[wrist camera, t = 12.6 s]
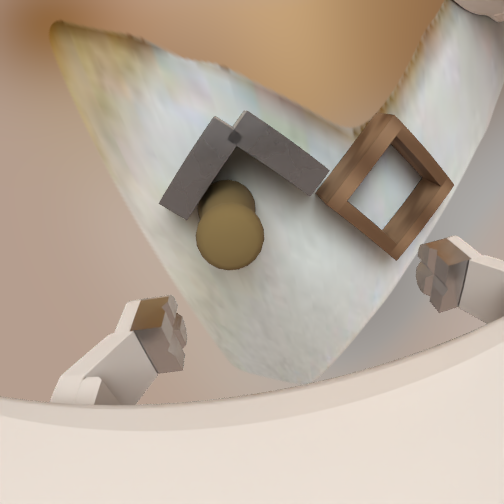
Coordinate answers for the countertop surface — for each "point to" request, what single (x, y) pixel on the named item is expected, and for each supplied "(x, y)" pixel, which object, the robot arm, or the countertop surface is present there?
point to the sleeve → (358, 166)
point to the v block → (220, 148)
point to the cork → (228, 226)
